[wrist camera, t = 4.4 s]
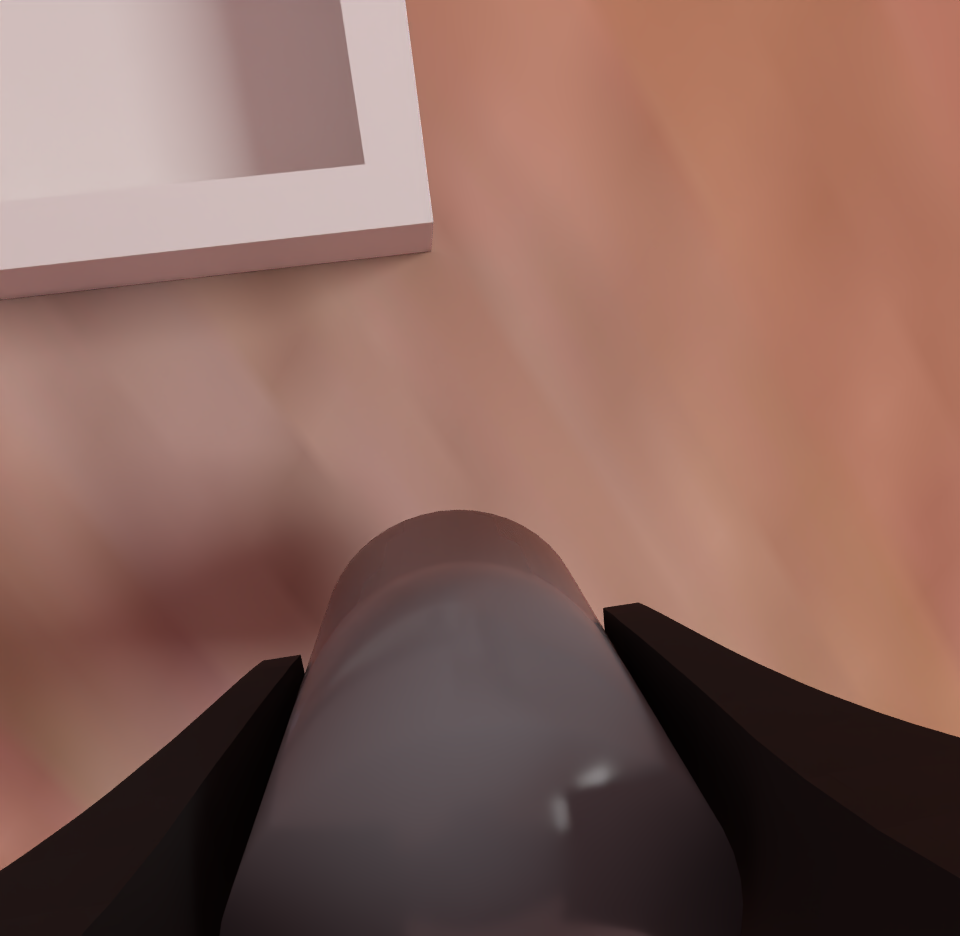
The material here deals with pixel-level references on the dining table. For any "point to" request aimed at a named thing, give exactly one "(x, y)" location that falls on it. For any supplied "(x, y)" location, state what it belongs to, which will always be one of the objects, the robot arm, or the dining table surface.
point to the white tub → (204, 139)
